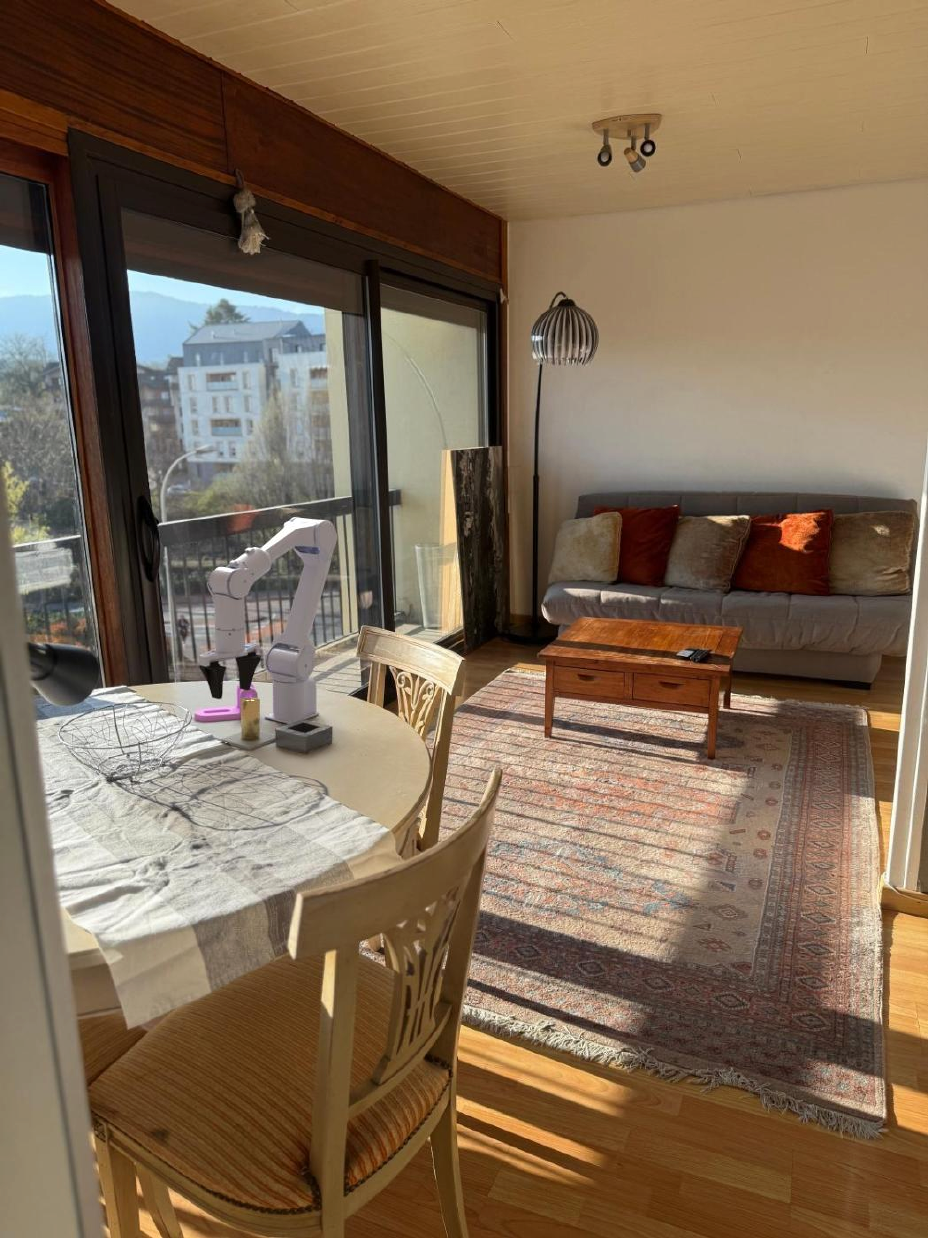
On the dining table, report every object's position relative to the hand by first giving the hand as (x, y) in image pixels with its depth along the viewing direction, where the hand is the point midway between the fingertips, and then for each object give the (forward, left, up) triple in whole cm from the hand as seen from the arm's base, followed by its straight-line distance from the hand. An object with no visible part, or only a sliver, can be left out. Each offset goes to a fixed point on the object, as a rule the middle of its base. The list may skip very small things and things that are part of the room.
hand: (231, 693), depth 175 cm
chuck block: (-6, +14, -9) cm, 18 cm away
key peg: (-1, +4, -9) cm, 10 cm away
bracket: (-9, -12, -10) cm, 18 cm away
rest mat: (-1, +4, -9) cm, 10 cm away
